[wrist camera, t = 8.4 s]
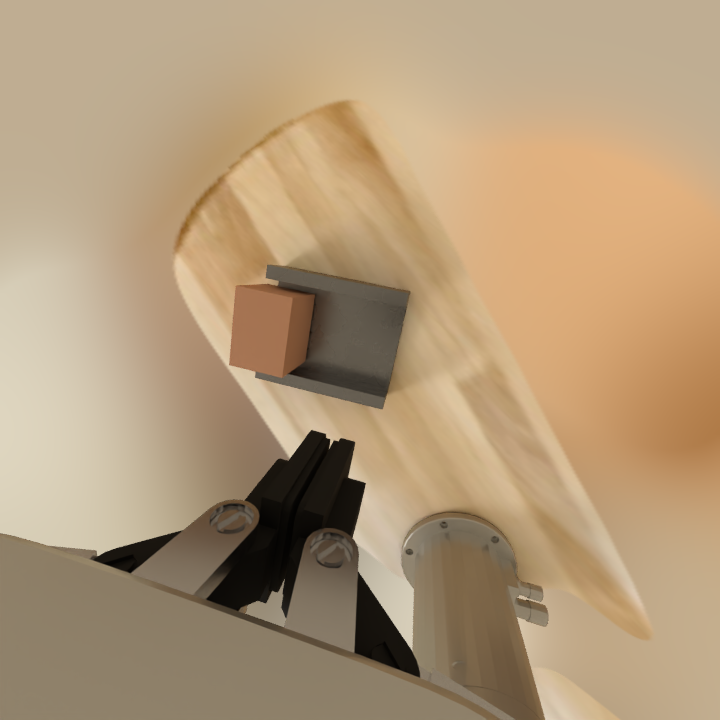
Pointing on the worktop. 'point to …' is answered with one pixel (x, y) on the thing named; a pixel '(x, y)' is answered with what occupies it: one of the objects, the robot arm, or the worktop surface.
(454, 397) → the worktop surface
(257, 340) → the block
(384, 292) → the chute
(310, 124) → the worktop surface
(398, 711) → the robot arm
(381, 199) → the worktop surface
